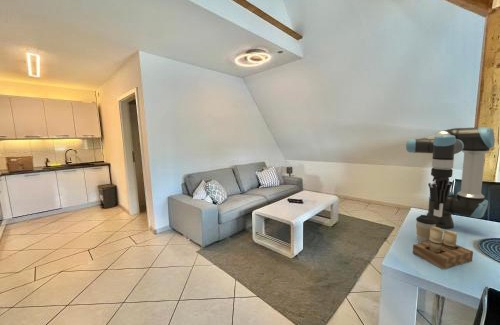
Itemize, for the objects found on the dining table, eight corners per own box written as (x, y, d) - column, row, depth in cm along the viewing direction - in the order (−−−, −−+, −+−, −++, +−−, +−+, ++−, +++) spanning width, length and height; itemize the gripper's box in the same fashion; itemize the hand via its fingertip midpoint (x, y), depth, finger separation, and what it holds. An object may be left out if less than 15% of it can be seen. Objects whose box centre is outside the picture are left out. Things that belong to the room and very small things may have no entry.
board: (439, 246, 117) (440, 238, 116) (472, 261, 104) (473, 251, 103) (412, 253, 112) (413, 244, 111) (442, 269, 98) (443, 259, 98)
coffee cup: (438, 246, 118) (440, 220, 116) (420, 245, 119) (422, 219, 117) (428, 238, 126) (430, 214, 124) (411, 237, 128) (413, 213, 126)
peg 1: (432, 248, 109) (434, 226, 107) (443, 253, 104) (446, 230, 103) (425, 249, 107) (427, 227, 106) (436, 255, 103) (438, 231, 101)
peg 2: (446, 251, 112) (448, 229, 110) (457, 256, 107) (459, 233, 106) (439, 252, 111) (441, 231, 109) (450, 257, 106) (452, 235, 104)
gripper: (442, 166, 106) (438, 211, 109) (423, 167, 102) (419, 214, 105) (461, 168, 98) (456, 217, 101) (441, 170, 95) (436, 220, 98)
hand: (437, 215), depth 103 cm, fingers closed
